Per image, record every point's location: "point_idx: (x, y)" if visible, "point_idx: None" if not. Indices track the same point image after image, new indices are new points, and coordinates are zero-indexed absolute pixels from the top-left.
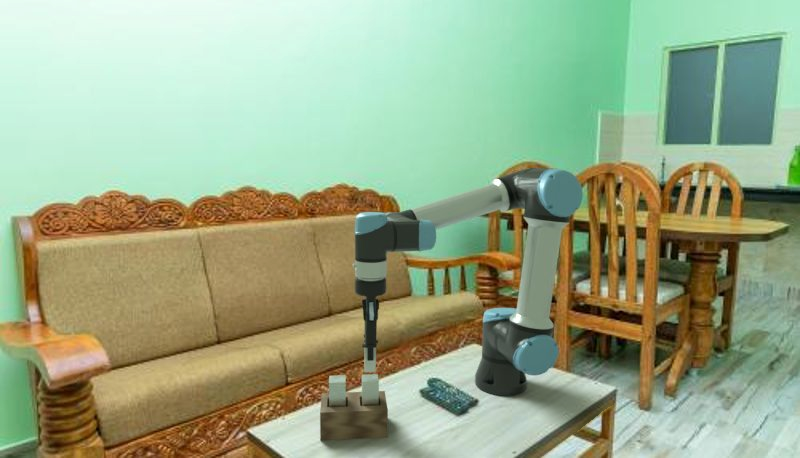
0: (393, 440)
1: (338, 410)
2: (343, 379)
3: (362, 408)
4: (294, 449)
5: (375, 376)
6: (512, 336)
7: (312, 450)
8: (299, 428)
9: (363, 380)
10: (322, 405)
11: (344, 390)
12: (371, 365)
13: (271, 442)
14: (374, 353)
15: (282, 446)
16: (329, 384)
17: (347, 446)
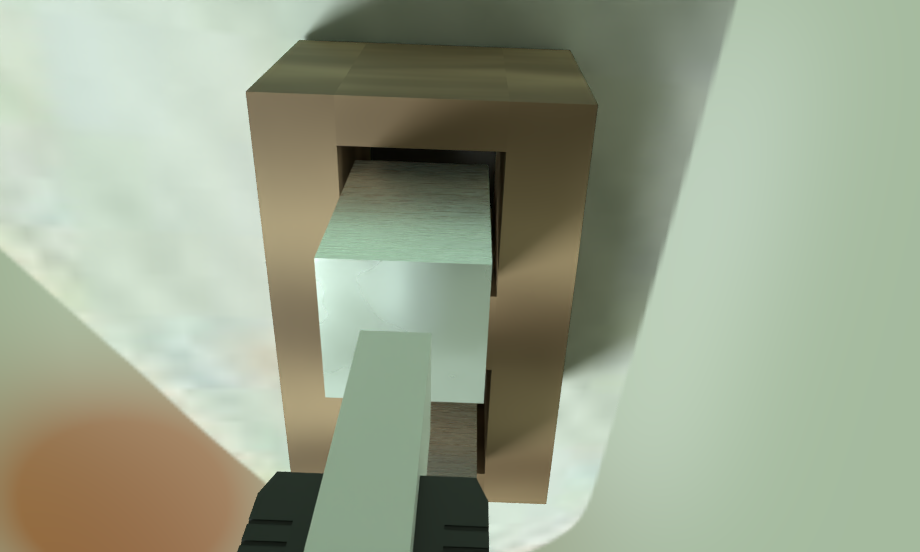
0: (603, 11)
1: (537, 420)
2: None
3: (536, 285)
4: (581, 477)
5: (375, 285)
6: None
7: (606, 416)
8: None
9: (459, 392)
10: None
11: (476, 467)
12: (426, 427)
13: (509, 548)
14: (416, 529)
15: (547, 514)
16: None
17: (608, 275)
